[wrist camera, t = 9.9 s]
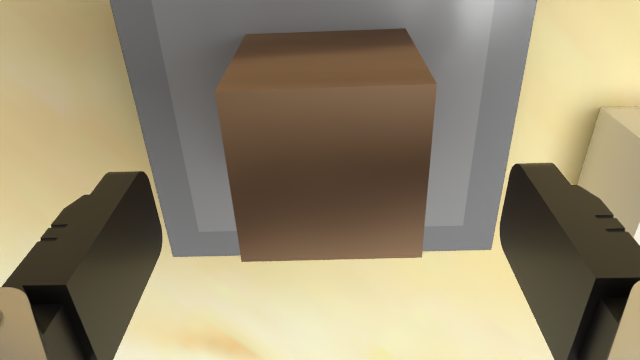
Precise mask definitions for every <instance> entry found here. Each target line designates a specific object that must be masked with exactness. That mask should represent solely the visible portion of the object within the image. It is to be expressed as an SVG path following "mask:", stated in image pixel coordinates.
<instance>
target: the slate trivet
mask: <svg viewBox="0 0 640 360" xmlns="http://www.w3.org/2000/svg"><path fill="white" fill-rule="evenodd" d="M536 3H537V0H110V4H111V8H112V12H113V16H114V20H115V24H116V28H117V32H118V36H119V40H120V44H121V48H122V52H123V56H124V60H125V64H126V68H127V72H128V76H129V80H130V84H131V88H132V92H133V96H134V101H135V105H136V109H137V113H138V117H139V121H140V125H141V129H142V133H143V137H144V141H145V145H146V149H147V153H148V157H149V161H150V165H151V169H152V173H153V177H154V181H155V185H156V189H157V194H158V198H159V202H160V206H161V210H162V214H163V218H164V222H165V226H166V230H167V234H168V238H169V242H170V246H171V250H172V254H173V257H189V256H234V255H241V254H240V248H239V242H238V235H237V229H236V223H235V216H234V210H233V204H232V197H231V191H230V185H229V178H228V172H227V166H226V159H225V153H224V147H223V140H222V134H221V128H220V121H219V115H218V109H217V103H216V96H215V90H216V88H217V86H218V85H219V83H220V81H221V79H222V77H223V75H224V73H225V72H226V70H227V68H228V66H229V64H230V62H231V61H232V59H233V57H234V55H235V53H236V51H237V49H238V48H239V46H240V44H241V42H242V40H243V38H244V37H245V35H246V34H267V33H294V32H321V31H347V30H374V29H401V28H406V30H407V32H408V34H409V35H410V37H411V39H412V41H413V42H414V44H415V46H416V48H417V49H418V51H419V53H420V55H421V57H422V58H423V60H424V62H425V64H426V65H427V67H428V69H429V71H430V72H431V74H432V76H433V78H434V79H435V81H436V83H437V90H436V102H435V113H434V124H433V135H432V147H431V158H430V169H429V181H428V192H427V203H426V215H425V226H424V237H423V249H422V251H456V250H491V248H492V242H493V237H494V232H495V226H496V221H497V215H498V210H499V204H500V199H501V194H502V188H503V183H504V177H505V172H506V166H507V161H508V156H509V150H510V145H511V139H512V134H513V128H514V123H515V117H516V112H517V107H518V101H519V96H520V90H521V85H522V79H523V74H524V69H525V63H526V58H527V52H528V47H529V41H530V36H531V31H532V25H533V20H534V14H535V9H536Z"/></svg>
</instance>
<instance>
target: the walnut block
mask: <svg viewBox="0 0 640 360" xmlns="http://www.w3.org/2000/svg"><path fill="white" fill-rule="evenodd" d="M436 90H437V83H436V81H435V79H434V78H433V76H432V74H431V72H430V71H429V69H428V67H427V65H426V64H425V62H424V60H423V58H422V57H421V55H420V53H419V51H418V49H417V48H416V46H415V44H414V42H413V41H412V39H411V37H410V35H409V34H408V32H407V30H406V28H401V29H374V30H347V31H321V32H294V33H267V34H246V35H245V37H244V38H243V40H242V42H241V44H240V46H239V48H238V49H237V51H236V53H235V55H234V57H233V59H232V61H231V62H230V64H229V66H228V68H227V70H226V72H225V73H224V75H223V77H222V79H221V81H220V83H219V85H218V86H217V88H216V90H215V96H216V103H217V109H218V115H219V121H220V128H221V134H222V140H223V147H224V153H225V159H226V166H227V172H228V178H229V185H230V191H231V197H232V204H233V210H234V216H235V223H236V229H237V235H238V242H239V248H240V254H241V261H242V262H250V261H291V260H333V259H375V258H416V257H422V249H423V237H424V226H425V215H426V203H427V192H428V181H429V169H430V158H431V147H432V135H433V124H434V113H435V102H436Z"/></svg>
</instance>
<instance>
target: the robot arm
mask: <svg viewBox="0 0 640 360" xmlns="http://www.w3.org/2000/svg"><path fill="white" fill-rule="evenodd" d="M500 240H501V245H502V248H503V251H504V253H505V255H506V257H507V260H508V262H509V264H510V266H511V268H512V270H513V272H514V274H515V277H516V279H517V281H518V283H519V285H520V287H521V289H522V291H523V294H524V296H525V298H526V300H527V302H528V304H529V306H530V308H531V311H532V313H533V315H534V317H535V319H536V321H537V323H538V326H539V328H540V330H541V332H542V334H543V336H544V338H545V340H546V343H547V345H548V347H549V349H550V351H551V353H552V355H553V357H554V360H640V245H639V244H638V243H637V242H636V240H635V239H634V238H633V237H632V236H631V235H630V233H629V232H625V227H624V226H623V225H622V224H621V223H620V222H619V220H618V219H617V218H614V214H613V213H612V212H611V211H610V210H609V209H608V207H607V206H606V205H605V204H604V203H603V201H602V200H601V199H600V198H598V197H597V196H595V195H593V194H592V193H590V192H589V191H587V190H585V189H584V188H582V187H581V186H579V185H570V183H569V182H568V181H567V180H566V178H565V177H564V176H563V175H562V173H561V172H560V171H559V170H558V168H557V167H556V166H555V165H554V164H553V163H526V164H515V165H514V166H513V167H512V169H511V172H510V175H509V181H508V186H507V191H506V196H505V201H504V206H503V211H502V216H501V221H500ZM161 248H162V229H161V224H160V220H159V217H158V213H157V209H156V205H155V201H154V197H153V193H152V189H151V186H150V182H149V179H148V177H147V175H146V174H145V173H144V172H142V171H139V172H108V173H107V174H105V176H104V177H103V178H102V180H101V181H100V182H99V183H98V185H97V186H96V187H95V189H94V190H93V191H92V193H91V194H90V195H83V196H82V197H80V198H79V199H77V200H76V201H75V202H73V203H72V204H70V205H69V206H67V207H66V208H64V209H63V211H62V212H61V213H60V214H59V216H58V217H57V218H56V219H55V221H54V222H53V223H52V224H51V228H48V229H47V231H46V232H45V233H44V234H43V236H42V237H41V241H39V242H37V243H36V244H35V246H34V247H33V248H32V249H31V251H30V252H29V253H28V254H27V256H26V257H25V258H24V259H23V261H22V262H21V263H20V264H19V266H18V267H17V268H16V269H15V271H14V272H13V273H12V274H11V276H10V277H9V278H8V279H7V281H6V282H5V283H4V284H3V286H2V287H0V360H113V359H114V356H115V354H116V352H117V350H118V347H119V345H120V343H121V341H122V338H123V336H124V334H125V332H126V329H127V327H128V325H129V323H130V320H131V318H132V316H133V314H134V312H135V309H136V307H137V305H138V303H139V300H140V298H141V296H142V294H143V291H144V289H145V287H146V285H147V282H148V280H149V278H150V276H151V273H152V271H153V269H154V267H155V264H156V262H157V260H158V258H159V255H160V252H161Z"/></svg>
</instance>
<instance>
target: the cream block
mask: <svg viewBox="0 0 640 360" xmlns="http://www.w3.org/2000/svg"><path fill="white" fill-rule="evenodd" d="M577 185H579V186H581V187H582V188H584V189H585V190H587V191H589V192H590V193H592V194H593V195H595V196H597V197H598V198H600V199H601V200H602V201H603V203H604V204H605V205H606V206H607V207H608V209H609V210H610V211H611V212H612V213H613V214H614V218H617V219H618V220H619V222H620V223H621V224H622V225H623V226H624V227H625V232H629V233H630V235H631V236H632V237H633V238H634V239H635V240H636V242H637V243H638V244H639V245H640V107H601V108H600V111H599V114H598V118H597V121H596V124H595V128H594V131H593V134H592V137H591V141H590V144H589V147H588V151H587V154H586V157H585V160H584V164H583V167H582V170H581V174H580V177H579V180H578V183H577Z"/></svg>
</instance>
